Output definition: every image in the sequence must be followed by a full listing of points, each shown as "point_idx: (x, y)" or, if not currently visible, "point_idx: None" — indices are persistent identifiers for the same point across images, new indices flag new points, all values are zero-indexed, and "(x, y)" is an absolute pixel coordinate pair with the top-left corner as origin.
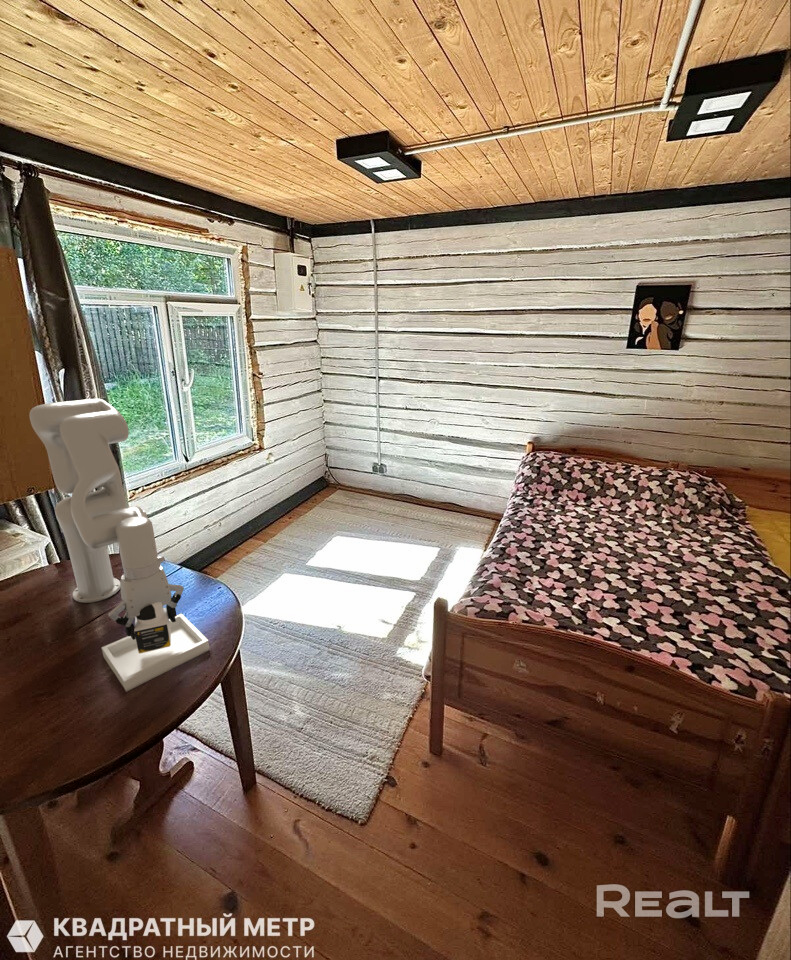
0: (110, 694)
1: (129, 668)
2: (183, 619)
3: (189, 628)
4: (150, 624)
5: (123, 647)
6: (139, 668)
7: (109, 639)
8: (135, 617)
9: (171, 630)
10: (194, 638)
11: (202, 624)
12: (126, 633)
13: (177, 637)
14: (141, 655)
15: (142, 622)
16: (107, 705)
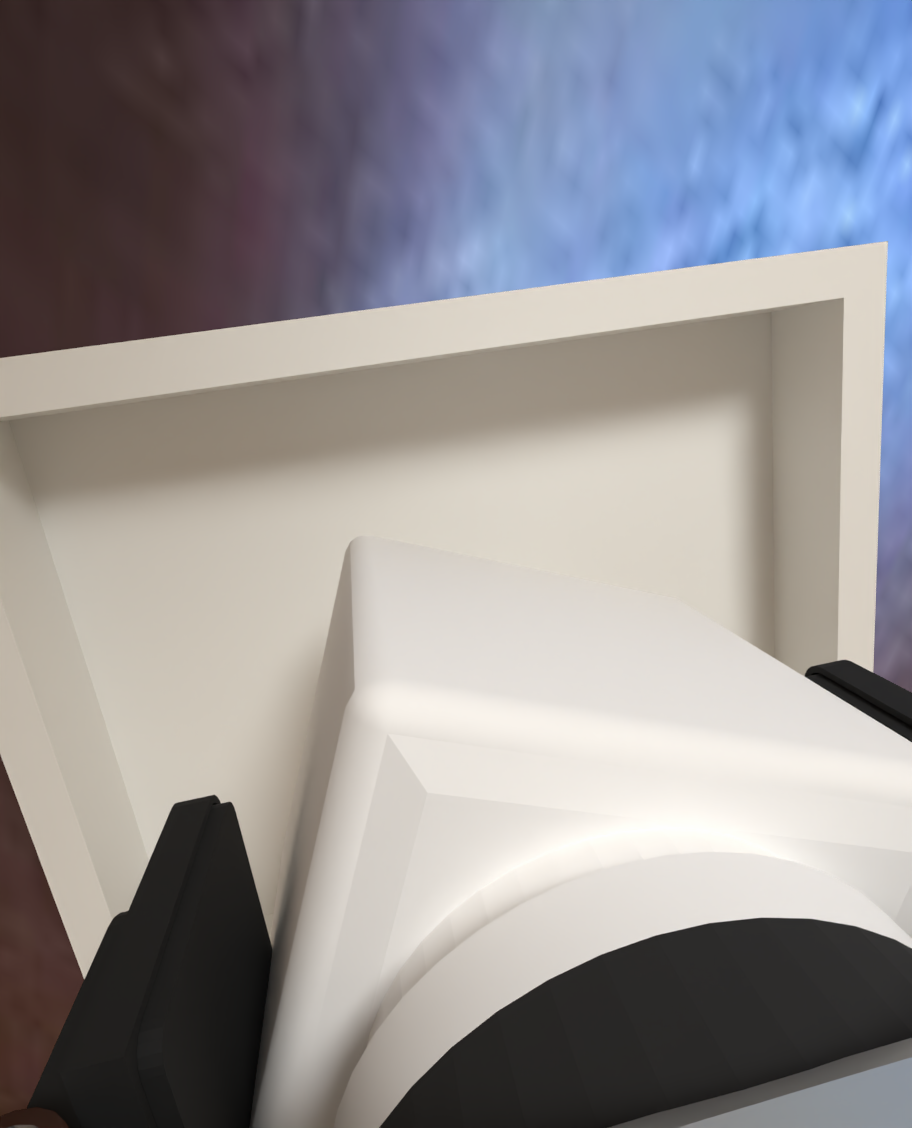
0: (27, 934)
1: (196, 737)
2: (850, 397)
3: (818, 560)
4: None
5: (164, 397)
6: (277, 780)
7: (21, 28)
8: (326, 841)
9: (662, 371)
10: (773, 629)
11: (905, 432)
12: (117, 930)
13: (668, 527)
14: (322, 611)
15: None
16: (4, 1032)
